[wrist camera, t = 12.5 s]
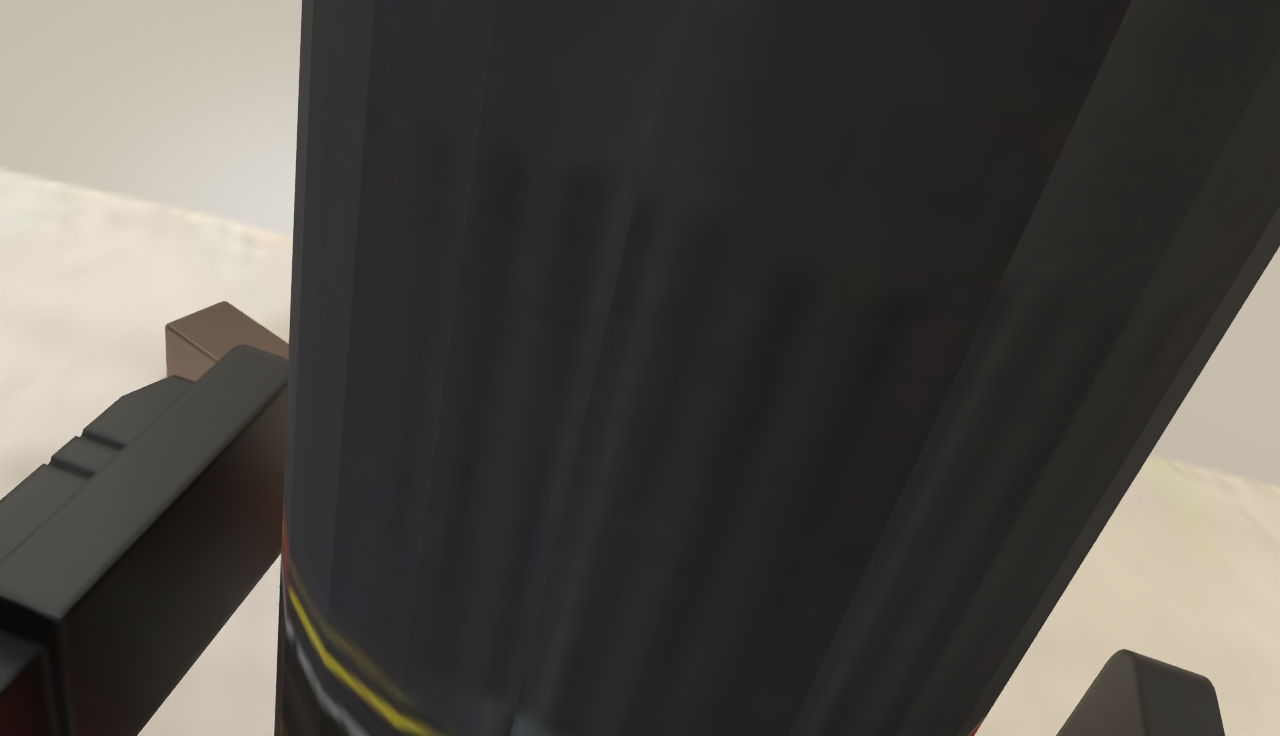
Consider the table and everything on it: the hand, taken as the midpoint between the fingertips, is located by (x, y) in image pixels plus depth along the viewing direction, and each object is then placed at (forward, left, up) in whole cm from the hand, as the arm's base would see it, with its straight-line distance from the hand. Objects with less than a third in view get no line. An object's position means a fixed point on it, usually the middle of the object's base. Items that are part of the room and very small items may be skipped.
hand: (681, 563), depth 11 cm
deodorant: (0, -1, -8) cm, 8 cm away
